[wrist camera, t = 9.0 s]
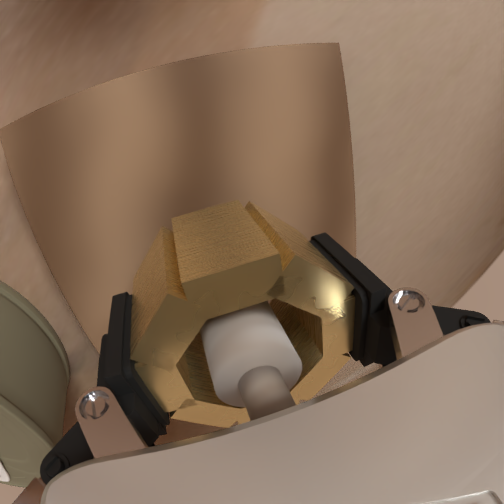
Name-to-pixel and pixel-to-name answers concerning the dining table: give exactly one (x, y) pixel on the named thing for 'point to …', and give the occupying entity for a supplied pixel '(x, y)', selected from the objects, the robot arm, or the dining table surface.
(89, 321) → the post block
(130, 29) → the dining table surface
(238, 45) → the dining table surface
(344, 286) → the ring
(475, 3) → the dining table surface
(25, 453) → the can
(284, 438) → the robot arm
